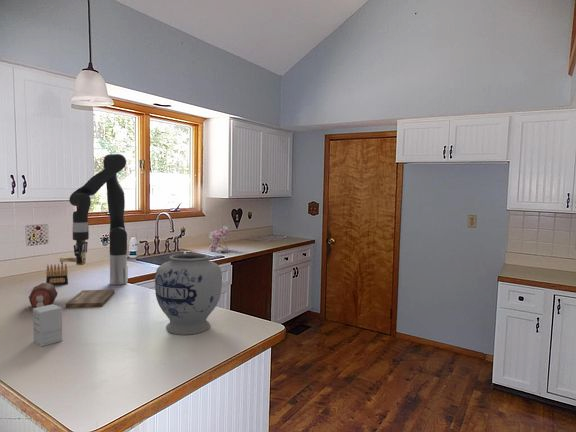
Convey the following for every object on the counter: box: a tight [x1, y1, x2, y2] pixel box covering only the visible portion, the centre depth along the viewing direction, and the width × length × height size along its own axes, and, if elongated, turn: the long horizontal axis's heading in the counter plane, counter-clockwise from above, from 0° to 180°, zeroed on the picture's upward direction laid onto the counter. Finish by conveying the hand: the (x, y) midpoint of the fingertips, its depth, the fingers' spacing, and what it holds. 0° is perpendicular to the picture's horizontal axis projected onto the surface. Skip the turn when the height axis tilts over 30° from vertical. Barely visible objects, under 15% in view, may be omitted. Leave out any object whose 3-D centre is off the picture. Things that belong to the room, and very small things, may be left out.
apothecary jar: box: [154, 253, 223, 336], centre depth 162 cm, size 27×27×30 cm
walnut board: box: [64, 289, 116, 309], centre depth 196 cm, size 16×24×2 cm, turn 11°
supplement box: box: [32, 303, 63, 347], centre depth 144 cm, size 7×7×13 cm
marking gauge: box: [59, 252, 87, 266], centre depth 207 cm, size 12×5×6 cm, turn 99°
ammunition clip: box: [45, 263, 69, 286], centre depth 224 cm, size 11×2×12 cm, turn 115°
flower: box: [208, 225, 231, 253], centre depth 348 cm, size 20×22×25 cm
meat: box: [28, 282, 58, 309], centre depth 184 cm, size 20×12×10 cm, turn 24°
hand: (81, 262), depth 208 cm, fingers closed on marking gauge, 5 cm apart
